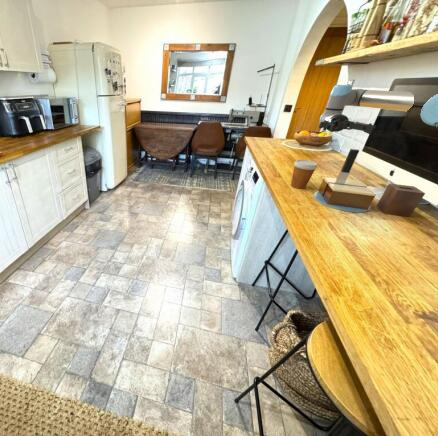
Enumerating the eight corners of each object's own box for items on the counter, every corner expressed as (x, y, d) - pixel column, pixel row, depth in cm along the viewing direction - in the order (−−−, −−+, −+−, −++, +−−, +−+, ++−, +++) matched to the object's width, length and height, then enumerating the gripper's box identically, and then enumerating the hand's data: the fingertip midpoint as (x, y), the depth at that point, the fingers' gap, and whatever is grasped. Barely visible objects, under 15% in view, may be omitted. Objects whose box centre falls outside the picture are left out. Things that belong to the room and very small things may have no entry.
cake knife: (336, 198, 103) (358, 149, 93) (337, 199, 102) (360, 150, 91) (327, 197, 104) (349, 148, 94) (329, 198, 103) (350, 149, 92)
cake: (358, 195, 108) (367, 179, 104) (379, 216, 92) (389, 198, 88) (308, 189, 114) (314, 174, 110) (319, 207, 97) (327, 190, 93)
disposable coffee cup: (310, 191, 111) (320, 166, 105) (287, 188, 114) (296, 163, 108) (307, 184, 119) (316, 160, 113) (286, 181, 122) (293, 158, 116)
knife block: (400, 209, 97) (414, 186, 92) (409, 217, 91) (425, 193, 86) (376, 205, 99) (388, 183, 94) (384, 213, 94) (398, 190, 89)
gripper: (363, 132, 113) (385, 141, 96) (304, 128, 120) (314, 136, 103) (371, 115, 109) (395, 121, 92) (309, 112, 116) (321, 118, 99)
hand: (352, 129), depth 97 cm, fingers open, 13 cm apart
